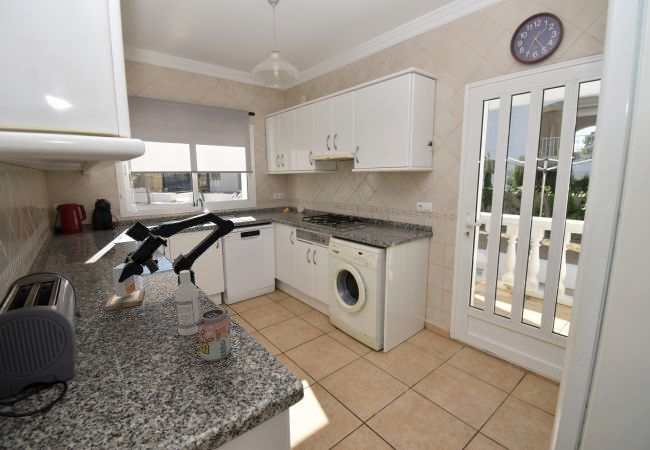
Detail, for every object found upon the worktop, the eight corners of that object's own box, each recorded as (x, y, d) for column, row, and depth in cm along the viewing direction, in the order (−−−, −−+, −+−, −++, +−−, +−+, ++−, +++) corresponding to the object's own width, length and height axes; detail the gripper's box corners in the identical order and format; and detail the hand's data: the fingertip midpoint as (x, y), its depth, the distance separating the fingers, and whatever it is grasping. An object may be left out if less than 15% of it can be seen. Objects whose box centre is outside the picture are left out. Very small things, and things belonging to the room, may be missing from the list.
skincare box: (126, 297, 119) (122, 268, 117) (116, 297, 119) (111, 268, 117) (136, 290, 125) (132, 263, 123) (126, 290, 125) (122, 263, 123)
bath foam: (191, 323, 102) (185, 267, 99) (206, 327, 99) (201, 269, 96) (173, 333, 96) (167, 273, 92) (189, 338, 93) (183, 276, 90)
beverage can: (193, 353, 85) (189, 313, 83) (220, 341, 91) (217, 303, 89) (209, 367, 79) (205, 324, 77) (237, 352, 85) (234, 312, 83)
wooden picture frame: (145, 292, 131) (144, 288, 131) (142, 304, 119) (141, 300, 118) (111, 297, 126) (111, 293, 125) (105, 310, 113) (104, 306, 113)
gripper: (166, 266, 119) (138, 298, 116) (164, 253, 135) (139, 281, 132) (140, 250, 114) (110, 283, 111) (141, 238, 129) (114, 267, 127)
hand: (119, 279), depth 120 cm, fingers closed on skincare box, 7 cm apart
